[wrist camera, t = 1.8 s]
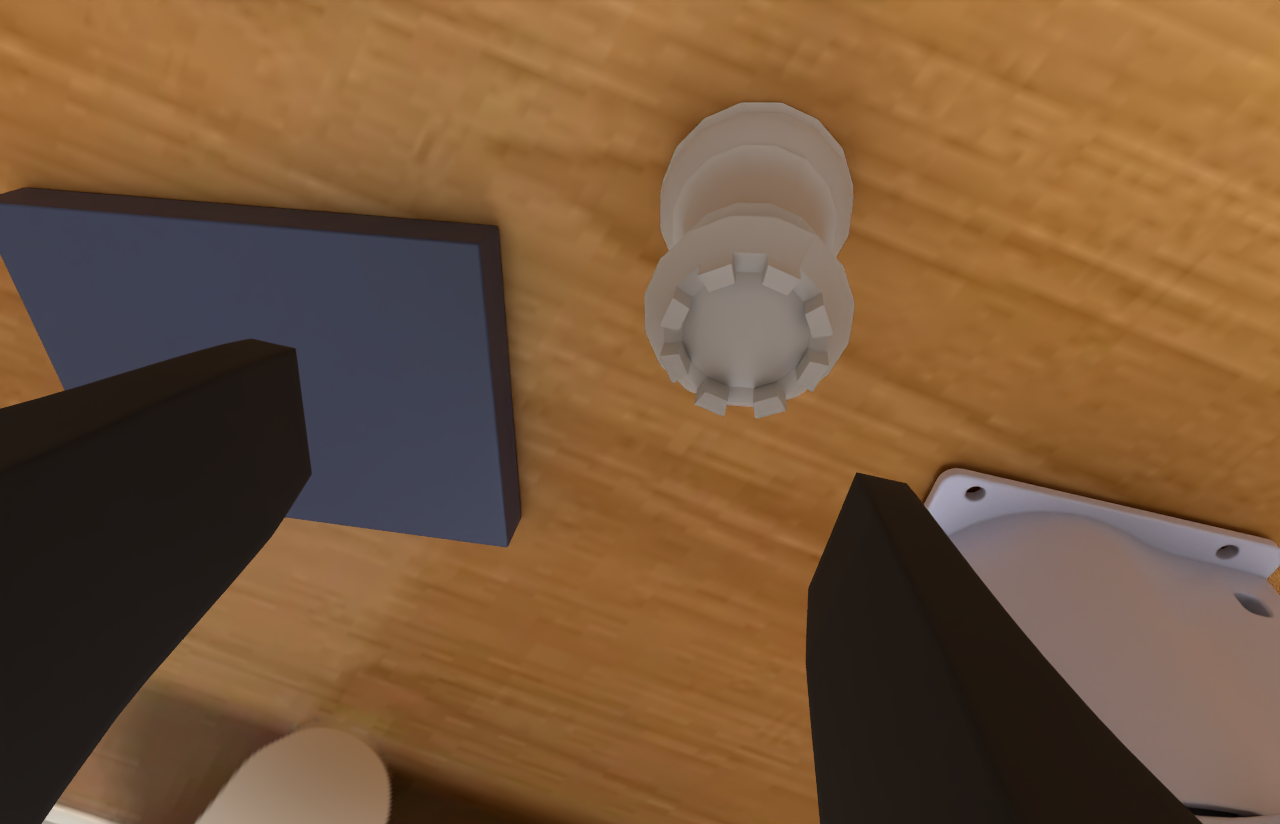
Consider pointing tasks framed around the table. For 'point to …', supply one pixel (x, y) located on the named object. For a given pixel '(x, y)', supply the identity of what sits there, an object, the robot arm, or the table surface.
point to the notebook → (300, 336)
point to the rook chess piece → (752, 259)
